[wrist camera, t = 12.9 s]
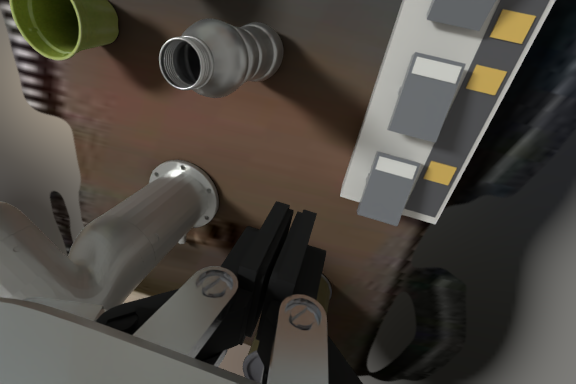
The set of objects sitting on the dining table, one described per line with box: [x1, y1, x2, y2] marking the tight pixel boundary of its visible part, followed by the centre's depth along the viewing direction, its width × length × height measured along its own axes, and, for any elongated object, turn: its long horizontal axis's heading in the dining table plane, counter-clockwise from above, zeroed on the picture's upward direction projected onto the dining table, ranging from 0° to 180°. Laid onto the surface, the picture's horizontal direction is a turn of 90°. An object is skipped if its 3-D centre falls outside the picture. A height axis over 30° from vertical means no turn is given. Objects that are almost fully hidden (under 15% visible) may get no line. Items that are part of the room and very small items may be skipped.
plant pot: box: [10, 0, 119, 60], centre depth 40 cm, size 9×9×9 cm
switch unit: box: [340, 0, 555, 224], centre depth 35 cm, size 30×13×5 cm, turn 168°
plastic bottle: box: [159, 19, 283, 98], centre depth 31 cm, size 6×7×20 cm
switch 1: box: [357, 151, 420, 226], centre depth 38 cm, size 8×5×2 cm, turn 168°
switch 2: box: [387, 52, 466, 143], centre depth 32 cm, size 8×5×2 cm, turn 168°
